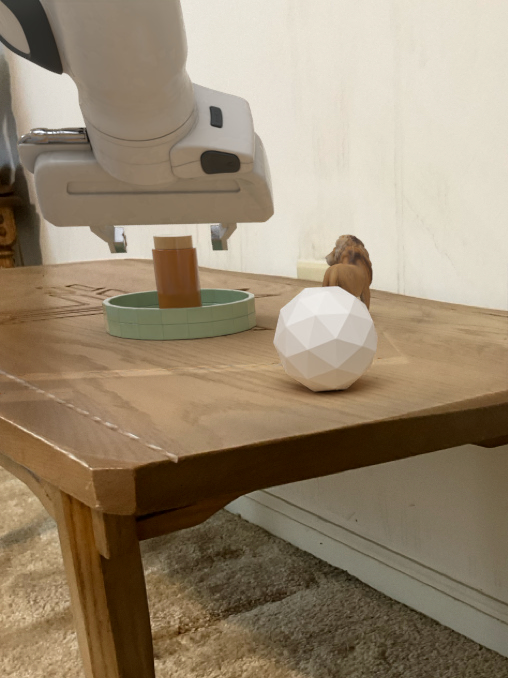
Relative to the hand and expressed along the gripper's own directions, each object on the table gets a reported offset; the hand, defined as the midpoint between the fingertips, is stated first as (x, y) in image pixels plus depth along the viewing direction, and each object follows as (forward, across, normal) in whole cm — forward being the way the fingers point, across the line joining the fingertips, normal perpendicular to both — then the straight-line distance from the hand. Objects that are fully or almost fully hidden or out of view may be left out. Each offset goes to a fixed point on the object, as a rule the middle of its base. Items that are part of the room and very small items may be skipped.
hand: (170, 246), depth 81 cm
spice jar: (+9, 0, -3) cm, 9 cm away
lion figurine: (+10, +17, -3) cm, 20 cm away
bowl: (+9, 0, -3) cm, 10 cm away
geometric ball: (-10, +13, -23) cm, 28 cm away
